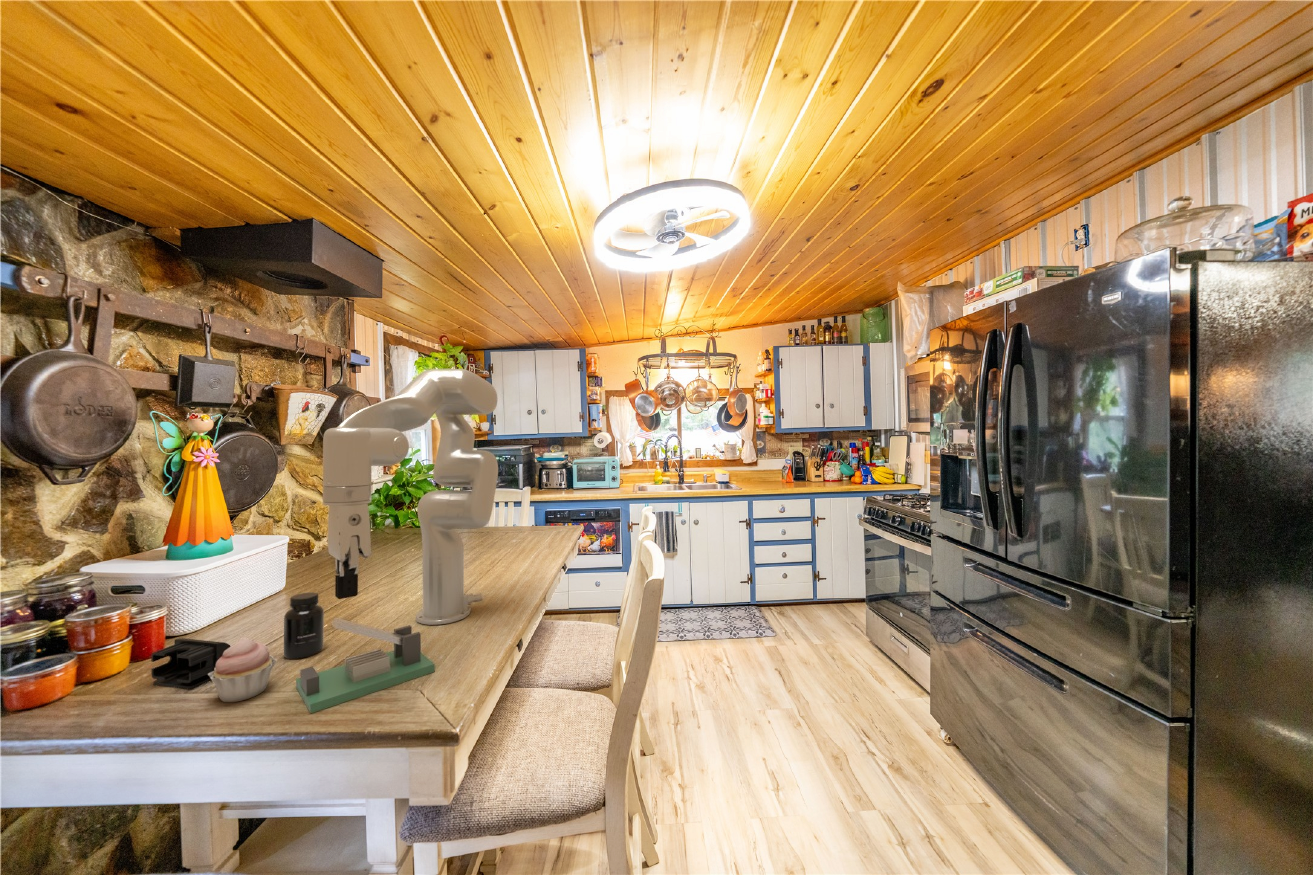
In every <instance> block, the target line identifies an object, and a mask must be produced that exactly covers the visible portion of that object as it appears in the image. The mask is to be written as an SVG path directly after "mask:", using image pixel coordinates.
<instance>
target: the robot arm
mask: <svg viewBox="0 0 1313 875" xmlns="http://www.w3.org/2000/svg"><path fill="white" fill-rule="evenodd" d="M497 406H498V393H497V391H496V389H495V387H494V386H493V385H492V383H490V382H489V381H487V380H486V379H485V378H482V376H480V375H478V374H477V373H474V372H472V371H470V370H467V369H464V368H432V369H426V370H424V371H422V372H420V373H419V374H418V375H416V376H415V377H414V378H413V379H412V380H411V381H410V382H409V383H408V384H407V385H406V386H404V387H403V388H402V390H400V391H399V392H398V393H397V394H395V396H392V397H390V398H386V399H384V400H382V401H379V402H377V403H374V404H372V405H369V406H366V407H365V408H362V409H360V410H358V411H356V412H354V413H352V414H351V415H349V416H348V417H347V418H346V419H345V420H343V421H342V422H341V423H340V424H339V425H338V426H337V427H330V428H328V429H326V430H325V431H324V433H323V440H322V441H323V442H322V444H323V445H322V505H323V506H328V513H327V515H328V516H327V552H328V554H329V555H330V556H332V557H333V558H335V560H334V562H335V565H334V566H335V575H334V576H335V585H334V587H335V588H334V592H335V594H334V597H335V598H337V599H338V600H342V599H349V598H352V597H356V596H358V595H359V592H358V591H359V567H360V559H359V558H360V557H362V558H364V559H368V558H370V557H371V556H372V542H371V541H372V540H371V520H370V512H369V505H368V504H371V503H372V467H388V466H390V467H391V466H394V465H397V464H400V463H401V462H403V461H404V459H406V458H407V456H408V453H409V450H410V449H409V448H410V444H409V440H408V438H407V437H406V435H405V434H404V433H403V432H406V431H410V430H414V429H417V428H418V429H419V428H420V427H422V426H424V425H425V424H427V423H429V420H430V419H431V418H432V417H433V416H434V415H435V417H436V419H437V422H438V424H439V428H440V438H439V443H438V447H437V452H436V456H435V461H434V466H433V473H432V475H433V480H434V482H435V483H436V484H438V485H439V486H443V487H450V488H451V487H454V488H459V487H460V488H461V487H462V488H472V489H471V490H458V489H451V490H450V489H439V490H432V491H428V492H426V493H425V494H424V495H423V496H421V498H420V499H419V501H418V504H417V517H418V521H419V526H420V532H421V540H422V541H421V542H422V543H421V546H422V547H421V548H422V609H421V610H419V611H418V612H417V613H416V614H415V621H416V622H417V623H419V624H422V625H427V626H436V625H447V624H451V623H455V622H458V621H460V620H463V619H465V618H467V617H468V616H469V615H470V614H471V607H470V605H472V603H478V602H482V601H483V599H484V598H483V594H482V593H477V594H474V593H467V594H466V593H465V591H464V590H465V587H464V586H465V584H464V582H465V581H464V580H465V579H464V578H465V577H464V576H465V574H464V573H465V572H464V568H465V567H464V565H465V564H464V563H465V562H464V558H465V557H464V556H465V554H464V553H465V552H464V550H465V549H464V542H463V539H462V537H461V535H460V533H459V532H458V531H457V530H478V529H479V530H480V529H482V528H485V527H486V526H487V525H488V524H489V522H490V520H491V517H492V512H493V508H494V500H495V495H496V489H497V484H498V478H499V477H498V476H499V463H498V460H497V457H496V456H495V454H493V453H492V452H491V451H488V450H479V449H478V450H477V449H474V446H475V438H476V435H475V431H474V430H473V428H472V426H471V425H470V424H469V422H468V421H467V420H466V418H465V417H464V416H472V415H473V416H476V415H477V416H483V415H490V414H491V413H493V412H494V411H495V409H496V408H497Z"/></svg>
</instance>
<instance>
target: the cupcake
mask: <svg viewBox="0 0 1313 875" xmlns="http://www.w3.org/2000/svg"><path fill="white" fill-rule="evenodd" d="M230 646H231V647H230V648H228V649H227V650H225V651H224V652H223V656H222V657H221V658H220V659H219V660H218V661H217V662H216V668H214V670H215V671H213V672H211V673H209V674H208V675H209V677H210V678H211V680H212V682H213V684H214V685H215V690H216V692H217V696H218V697H219V700H220V701H222V702H224V703H236V702H241V701H244V700H248V699H252V698H253V697H256V696H258V695H260V694H261V693H263V692H264V691H265V690H266V689H267V686H268V682H269V680H270V677H271V676H270V675H271V672H272V670H273V668H274V667H275V665H276V663H277V662H278V659H276V658H274V655H270V654H269V653H270V652H269V650H268V647H267V645H266V644H264V643H262V642H259V641H254V640H252V639H249V638H247V637H244V636H242V637H240V638H239V640H238V641H237V642H236V643H234V644H233V645H230Z"/></svg>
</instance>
